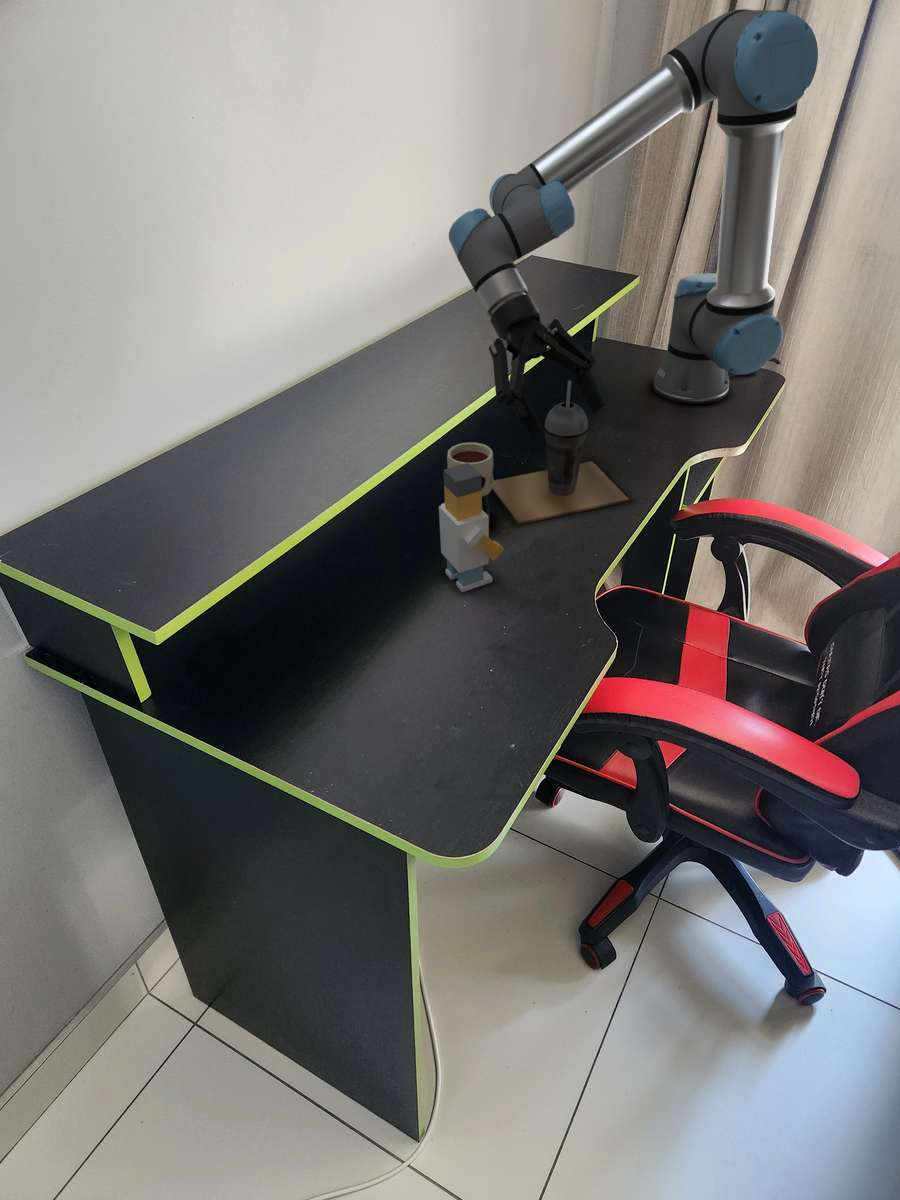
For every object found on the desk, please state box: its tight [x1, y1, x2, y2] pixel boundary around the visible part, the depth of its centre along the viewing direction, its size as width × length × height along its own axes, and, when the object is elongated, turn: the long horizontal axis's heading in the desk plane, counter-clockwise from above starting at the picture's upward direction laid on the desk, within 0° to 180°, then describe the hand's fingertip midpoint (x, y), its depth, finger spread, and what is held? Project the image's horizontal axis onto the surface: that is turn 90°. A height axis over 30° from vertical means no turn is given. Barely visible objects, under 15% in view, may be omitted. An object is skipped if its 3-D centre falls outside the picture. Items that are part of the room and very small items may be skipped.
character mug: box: [446, 442, 494, 525], centre depth 123 cm, size 11×7×13 cm, turn 141°
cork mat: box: [491, 460, 630, 526], centre depth 134 cm, size 20×14×1 cm
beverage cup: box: [543, 379, 590, 496], centre depth 128 cm, size 7×7×20 cm
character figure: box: [438, 463, 505, 593], centre depth 110 cm, size 8×10×18 cm
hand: (570, 422), depth 126 cm, fingers open, 13 cm apart
